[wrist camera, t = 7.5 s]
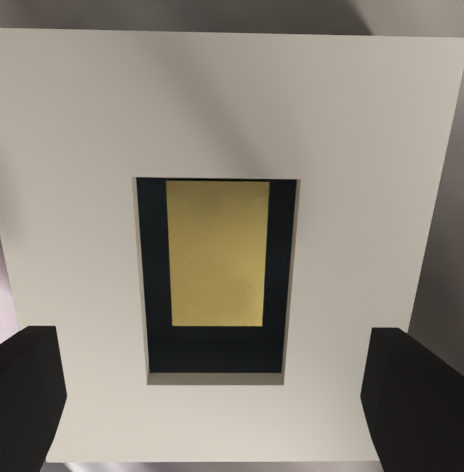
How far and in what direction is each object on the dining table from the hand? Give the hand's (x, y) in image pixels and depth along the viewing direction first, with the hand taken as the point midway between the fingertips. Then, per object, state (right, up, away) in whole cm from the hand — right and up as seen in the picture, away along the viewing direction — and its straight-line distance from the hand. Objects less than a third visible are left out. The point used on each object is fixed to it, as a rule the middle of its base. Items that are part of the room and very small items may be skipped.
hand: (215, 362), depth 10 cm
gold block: (0, +4, +8) cm, 9 cm away
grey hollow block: (0, +4, +9) cm, 10 cm away
